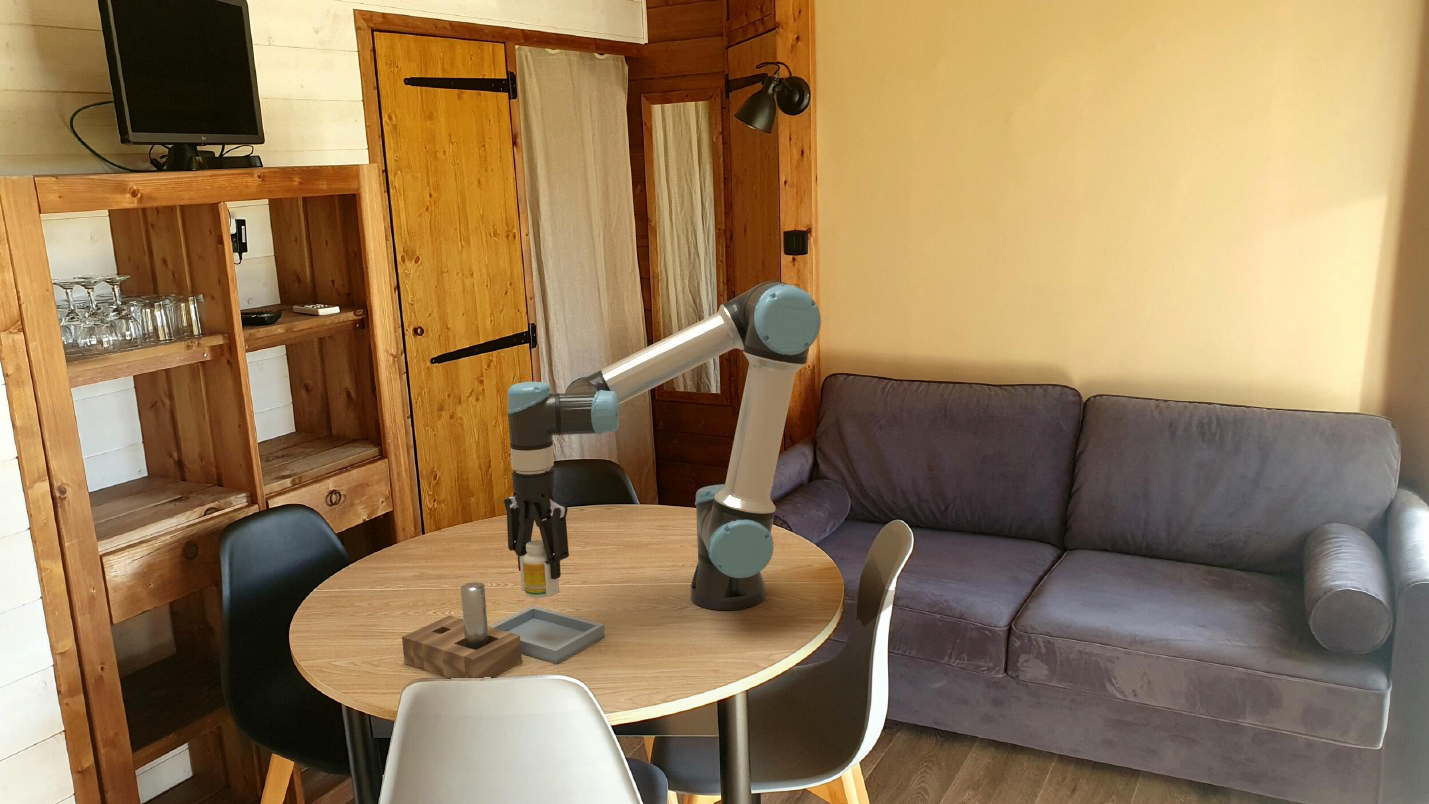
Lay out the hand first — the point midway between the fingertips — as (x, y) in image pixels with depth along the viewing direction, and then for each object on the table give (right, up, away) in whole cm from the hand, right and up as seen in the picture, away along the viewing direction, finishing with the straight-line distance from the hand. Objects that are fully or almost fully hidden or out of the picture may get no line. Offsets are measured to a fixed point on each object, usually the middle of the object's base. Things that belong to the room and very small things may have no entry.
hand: (540, 591), depth 190 cm
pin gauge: (-9, -12, -9) cm, 17 cm away
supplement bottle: (0, -1, 0) cm, 1 cm away
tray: (0, -9, +2) cm, 10 cm away
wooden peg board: (-13, -11, -7) cm, 18 cm away
